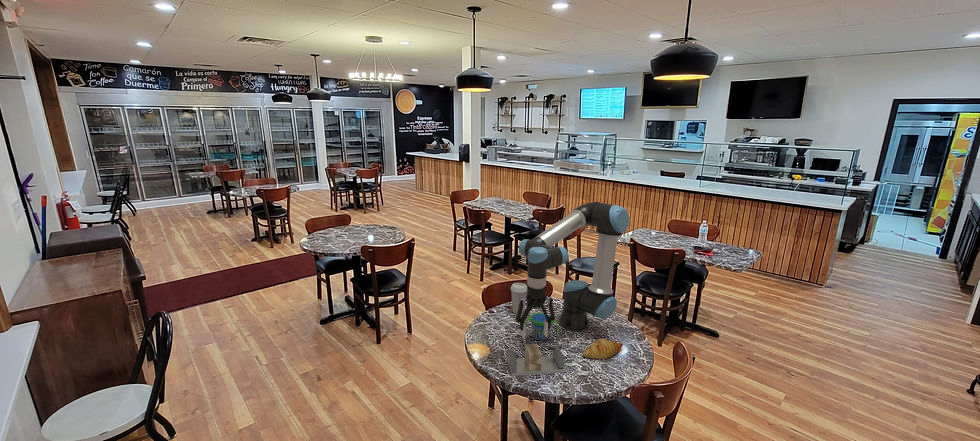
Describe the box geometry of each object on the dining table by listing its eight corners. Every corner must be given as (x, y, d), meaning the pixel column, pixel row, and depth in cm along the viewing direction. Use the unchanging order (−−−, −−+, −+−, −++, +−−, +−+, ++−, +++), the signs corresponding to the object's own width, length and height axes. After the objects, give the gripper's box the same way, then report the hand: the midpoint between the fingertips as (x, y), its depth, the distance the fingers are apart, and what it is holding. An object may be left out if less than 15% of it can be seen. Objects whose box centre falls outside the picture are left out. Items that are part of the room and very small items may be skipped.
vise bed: (561, 358, 178) (561, 355, 178) (568, 372, 169) (568, 368, 169) (507, 362, 175) (507, 359, 175) (511, 376, 165) (511, 373, 165)
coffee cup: (530, 311, 223) (531, 285, 219) (519, 316, 216) (520, 290, 212) (517, 305, 229) (518, 280, 225) (506, 311, 222) (506, 285, 219)
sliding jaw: (560, 352, 180) (560, 342, 178) (568, 367, 169) (569, 356, 168) (546, 353, 179) (547, 343, 178) (554, 368, 168) (555, 357, 167)
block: (536, 358, 175) (536, 344, 174) (540, 369, 168) (541, 354, 166) (524, 359, 175) (525, 344, 173) (529, 370, 167) (529, 355, 165)
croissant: (586, 368, 178) (592, 358, 173) (575, 348, 184) (580, 338, 179) (624, 357, 186) (631, 347, 180) (612, 338, 192) (619, 329, 187)
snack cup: (557, 333, 200) (559, 314, 197) (556, 344, 190) (557, 324, 187) (526, 329, 203) (527, 310, 200) (523, 340, 193) (523, 320, 190)
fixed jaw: (512, 359, 175) (512, 349, 173) (516, 371, 166) (516, 361, 165) (507, 359, 174) (507, 349, 173) (511, 372, 166) (512, 361, 164)
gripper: (559, 280, 168) (556, 329, 173) (508, 283, 165) (507, 333, 170) (565, 287, 161) (562, 339, 166) (512, 290, 158) (510, 342, 163)
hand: (534, 336), depth 168 cm, fingers open, 9 cm apart
